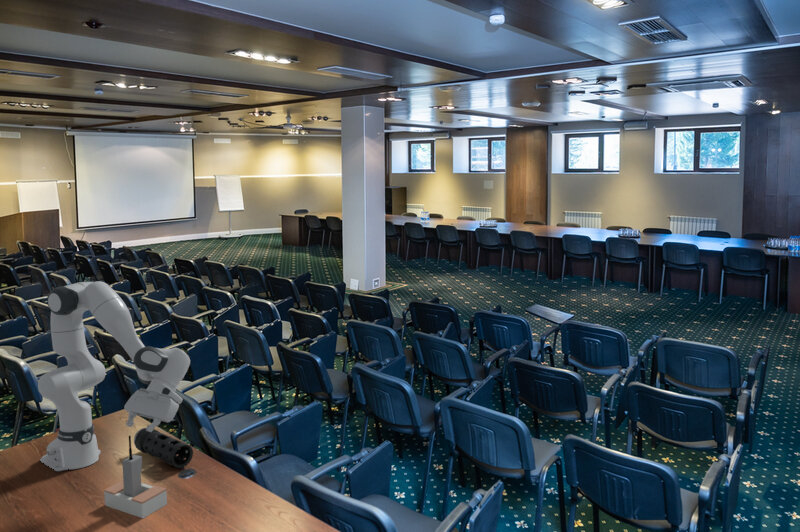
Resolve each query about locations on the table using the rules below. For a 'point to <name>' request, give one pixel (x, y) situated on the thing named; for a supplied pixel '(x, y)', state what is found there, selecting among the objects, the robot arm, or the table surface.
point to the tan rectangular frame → (136, 499)
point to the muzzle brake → (163, 447)
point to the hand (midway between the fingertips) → (138, 428)
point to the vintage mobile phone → (132, 474)
